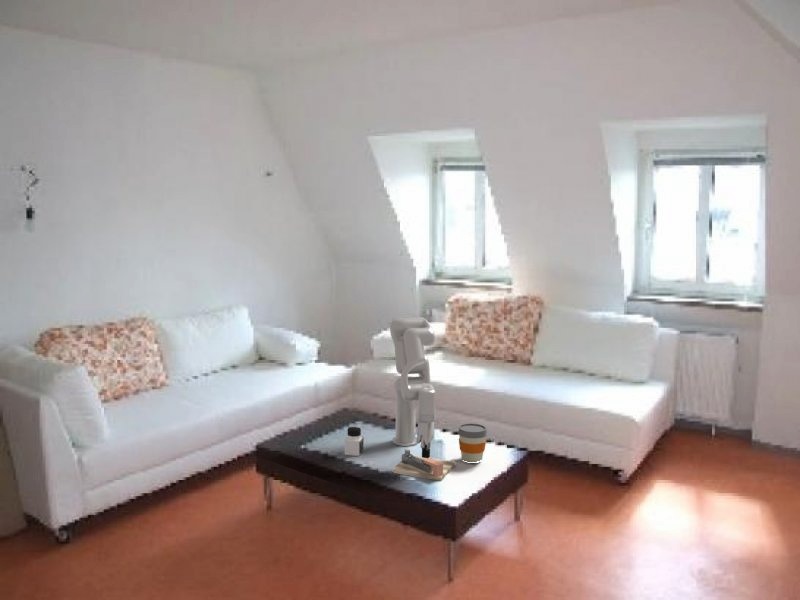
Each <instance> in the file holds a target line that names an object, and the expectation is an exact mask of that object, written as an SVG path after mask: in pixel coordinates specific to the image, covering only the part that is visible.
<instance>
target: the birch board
mask: <svg viewBox="0 0 800 600" xmlns="http://www.w3.org/2000/svg"><path fill="white" fill-rule="evenodd" d="M404 454H405V456H410V454H411V450H410V449H405V450H404ZM412 455H413V454H412ZM413 456H414V457H416V458H419V459H421V460H425V459H428V458H422V456H419V455H413ZM431 458H432V459H435V460H438V461H440V462H443V475H441V476H438V477H437V476H434V475H433V471H431V472H427V471H425V470H422V469H420V468H418V467H415V466H413V465H411V464H408V463H403V462H402V460H401V461H399V462H398V463H397V464H396V465H395V466H394V467H392V469H391V473H392V472H393V473H394V474H399V475H405V476H411V477H418V478H424V479H429V480H433V481H441V482H442V481H443V480H444V479H445V478H446V476H447V475H448V474H449V473H450V472H451V471H452V469H454V467H455V466H456V461H451V460H445V459H438V458H433V457H431Z"/></svg>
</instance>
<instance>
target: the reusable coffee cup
mask: <svg viewBox="0 0 800 600" xmlns="http://www.w3.org/2000/svg"><path fill="white" fill-rule="evenodd" d="M457 433H458V436H459V438H458V444H459V450H460V454H461V461H462V460H464V461H467V462H477V461H480V460H482V461H483V457H484V452H485V449H486V443H487V440H486V437H487V434H488V433H487V427H486V426H485V425H483V424H479V423H472V422H471V423H463V424H460V425H458V431H457Z"/></svg>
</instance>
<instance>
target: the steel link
mask: <svg viewBox="0 0 800 600" xmlns="http://www.w3.org/2000/svg"><path fill="white" fill-rule="evenodd" d="M414 456H415V455H414ZM414 456H413V454H412V453H410V456H405V453H403V454H401V461H402V462H403V463H408V464H411V465H413V466H415V467H418V468H420V469H422V470H425V471H427V472H431V471H433V466H430V465H428V464H425V463H424V460H421V459H419V458H416V457H414Z"/></svg>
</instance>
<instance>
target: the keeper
mask: <svg viewBox="0 0 800 600" xmlns="http://www.w3.org/2000/svg"><path fill="white" fill-rule="evenodd" d="M432 458H433V457H429V458H428V459H425V460H424V463H425V464H428V465H430V466H433V475H434V476H437V477H438V476H441V475H443V462H440V461H438V460H435V459H436V458H433V459H432Z"/></svg>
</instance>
